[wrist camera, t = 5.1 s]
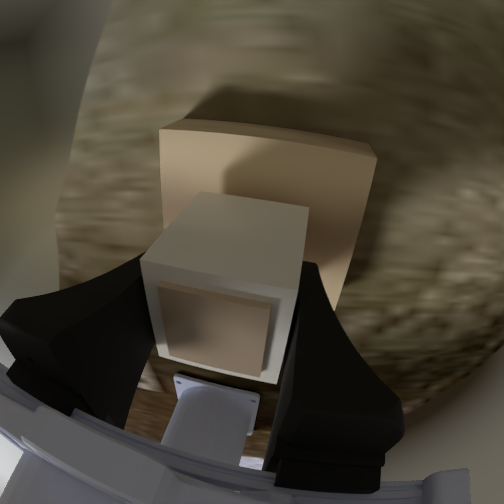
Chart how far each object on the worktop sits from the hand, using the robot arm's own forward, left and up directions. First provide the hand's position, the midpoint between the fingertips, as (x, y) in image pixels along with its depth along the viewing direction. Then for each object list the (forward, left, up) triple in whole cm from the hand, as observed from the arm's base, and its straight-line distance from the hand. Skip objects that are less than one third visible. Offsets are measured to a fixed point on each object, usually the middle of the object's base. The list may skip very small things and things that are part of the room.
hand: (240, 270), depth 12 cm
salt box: (0, 0, -2) cm, 2 cm away
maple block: (0, 0, -6) cm, 6 cm away
